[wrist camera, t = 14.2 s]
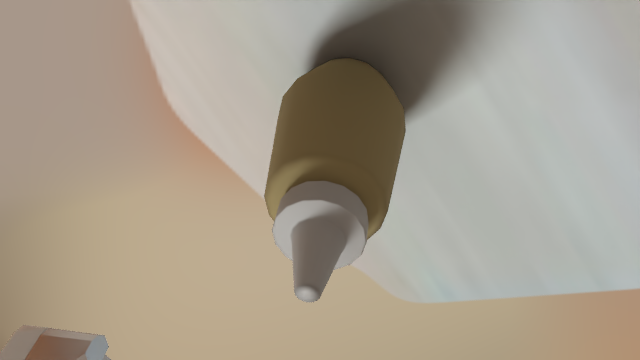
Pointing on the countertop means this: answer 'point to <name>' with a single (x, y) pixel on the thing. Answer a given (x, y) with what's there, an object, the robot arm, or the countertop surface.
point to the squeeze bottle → (332, 168)
